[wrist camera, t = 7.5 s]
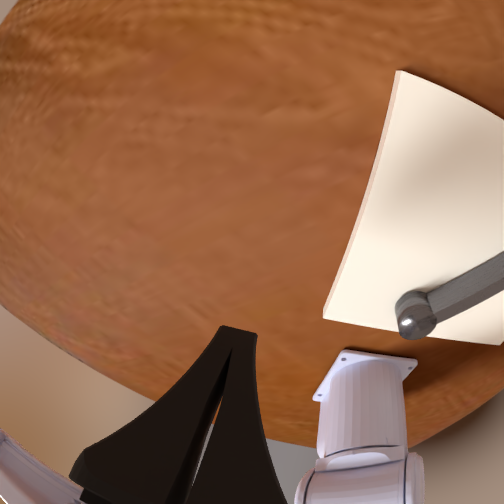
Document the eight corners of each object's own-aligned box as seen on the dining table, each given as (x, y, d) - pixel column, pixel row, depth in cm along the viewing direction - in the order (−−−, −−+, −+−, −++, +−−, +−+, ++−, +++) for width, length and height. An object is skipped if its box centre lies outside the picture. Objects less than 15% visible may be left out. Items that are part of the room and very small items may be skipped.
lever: (400, 324, 19) (405, 344, 18) (389, 301, 18) (393, 322, 17) (550, 243, 13) (563, 258, 11) (549, 214, 12) (563, 228, 10)
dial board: (496, 337, 20) (500, 346, 19) (323, 308, 21) (323, 319, 21) (582, 184, 10) (590, 189, 9) (396, 70, 12) (401, 70, 11)
